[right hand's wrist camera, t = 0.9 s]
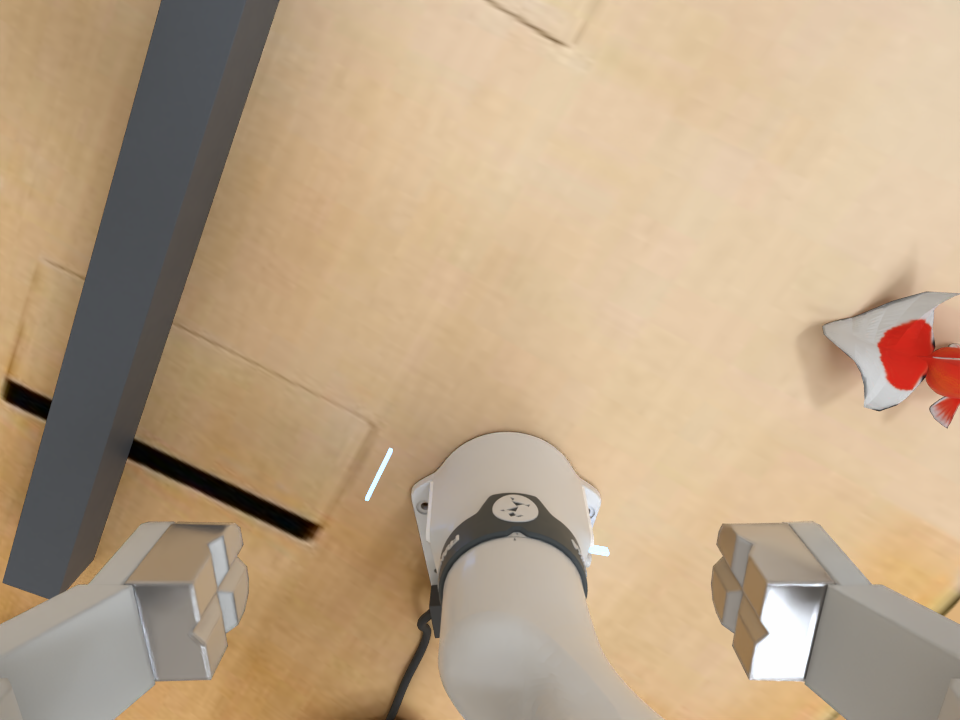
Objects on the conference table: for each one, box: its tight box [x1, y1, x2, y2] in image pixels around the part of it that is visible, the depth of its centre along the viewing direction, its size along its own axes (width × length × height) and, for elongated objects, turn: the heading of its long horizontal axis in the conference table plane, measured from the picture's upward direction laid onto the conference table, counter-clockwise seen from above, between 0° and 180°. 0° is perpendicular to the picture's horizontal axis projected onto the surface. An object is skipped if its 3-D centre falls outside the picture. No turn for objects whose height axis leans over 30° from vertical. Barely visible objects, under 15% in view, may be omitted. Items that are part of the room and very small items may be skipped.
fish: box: [822, 292, 960, 428], centre depth 53 cm, size 11×16×10 cm
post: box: [3, 0, 279, 599], centre depth 52 cm, size 63×5×6 cm, turn 154°
